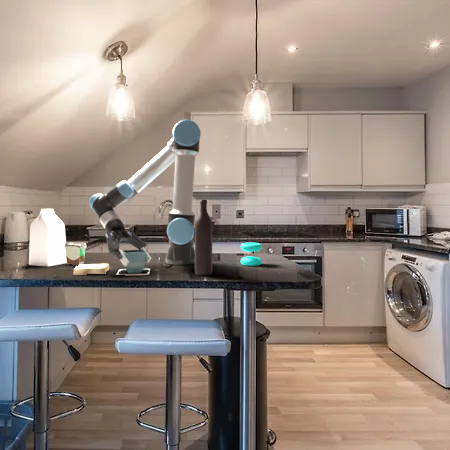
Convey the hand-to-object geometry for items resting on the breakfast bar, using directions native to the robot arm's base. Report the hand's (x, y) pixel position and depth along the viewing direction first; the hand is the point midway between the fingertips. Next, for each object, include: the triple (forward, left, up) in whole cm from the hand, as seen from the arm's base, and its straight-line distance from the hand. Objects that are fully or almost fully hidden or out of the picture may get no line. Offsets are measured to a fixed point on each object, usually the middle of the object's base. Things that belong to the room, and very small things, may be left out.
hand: (138, 262), depth 156 cm
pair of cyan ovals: (-51, -15, -5) cm, 53 cm away
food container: (+29, -29, -5) cm, 41 cm away
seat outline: (+2, -2, -4) cm, 5 cm away
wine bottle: (-26, +6, -5) cm, 27 cm away
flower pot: (+2, -2, -5) cm, 5 cm away
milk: (+43, -32, -5) cm, 54 cm away
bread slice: (+19, -5, -4) cm, 20 cm away
